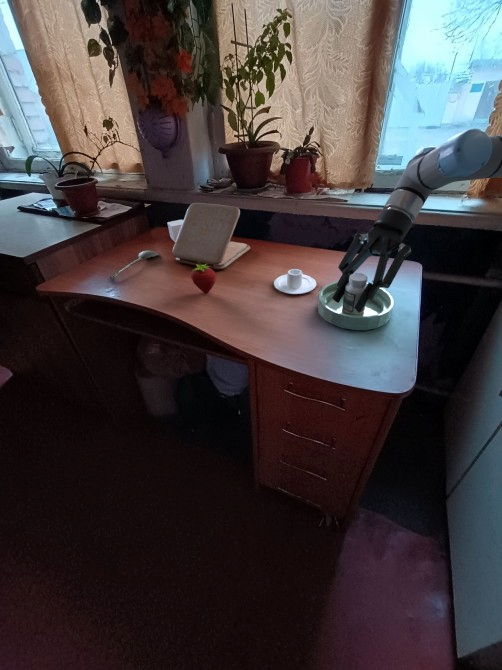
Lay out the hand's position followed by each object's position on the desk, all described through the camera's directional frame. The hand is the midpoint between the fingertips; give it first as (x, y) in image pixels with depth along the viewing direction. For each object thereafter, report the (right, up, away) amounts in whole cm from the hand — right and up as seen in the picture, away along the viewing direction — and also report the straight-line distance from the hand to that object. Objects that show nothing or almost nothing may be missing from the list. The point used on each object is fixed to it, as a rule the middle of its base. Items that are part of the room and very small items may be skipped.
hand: (346, 305), depth 73 cm
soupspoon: (-61, +16, +31) cm, 71 cm away
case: (-36, +21, +36) cm, 54 cm away
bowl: (+3, -1, +4) cm, 5 cm away
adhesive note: (-51, +32, +51) cm, 79 cm away
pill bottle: (+3, -1, +4) cm, 5 cm away
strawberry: (-35, +5, +15) cm, 38 cm away
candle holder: (-10, +7, +16) cm, 20 cm away
